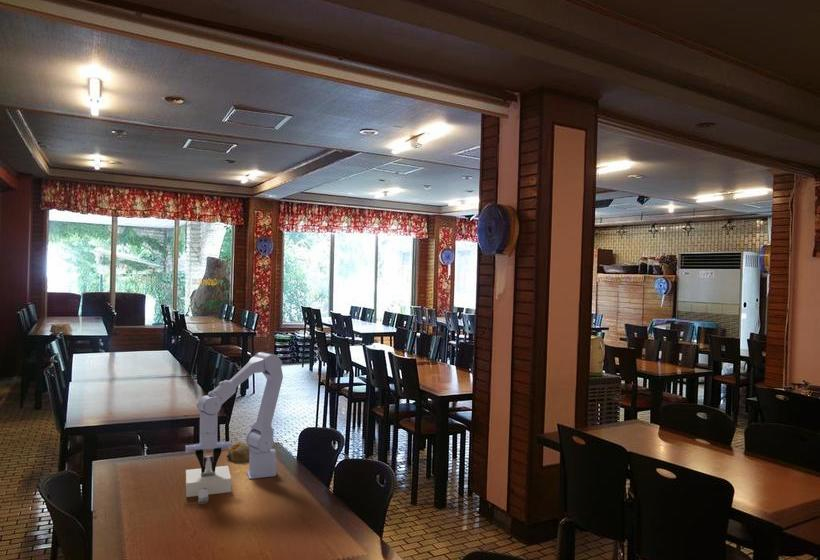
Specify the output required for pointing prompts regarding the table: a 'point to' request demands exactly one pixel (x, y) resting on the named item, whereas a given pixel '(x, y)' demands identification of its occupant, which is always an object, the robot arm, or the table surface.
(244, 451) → the bread roll
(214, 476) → the hole block
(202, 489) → the short steel pin
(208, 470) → the tall steel pin
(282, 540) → the table surface
